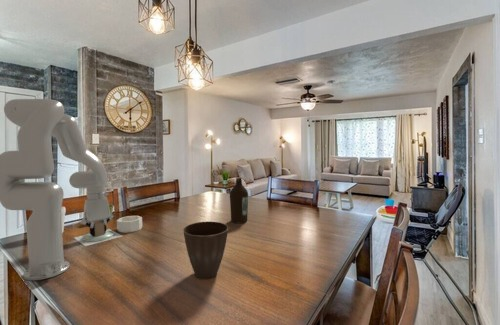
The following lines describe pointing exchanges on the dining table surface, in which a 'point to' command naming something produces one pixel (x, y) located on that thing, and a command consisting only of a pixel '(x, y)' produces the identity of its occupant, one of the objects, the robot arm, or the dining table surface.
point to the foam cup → (63, 217)
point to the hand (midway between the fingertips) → (98, 233)
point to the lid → (98, 233)
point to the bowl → (129, 224)
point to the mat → (97, 241)
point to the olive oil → (239, 202)
